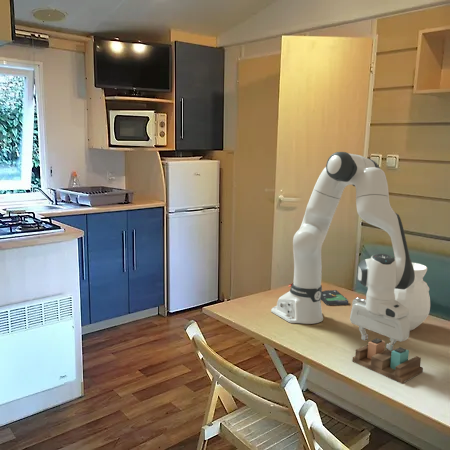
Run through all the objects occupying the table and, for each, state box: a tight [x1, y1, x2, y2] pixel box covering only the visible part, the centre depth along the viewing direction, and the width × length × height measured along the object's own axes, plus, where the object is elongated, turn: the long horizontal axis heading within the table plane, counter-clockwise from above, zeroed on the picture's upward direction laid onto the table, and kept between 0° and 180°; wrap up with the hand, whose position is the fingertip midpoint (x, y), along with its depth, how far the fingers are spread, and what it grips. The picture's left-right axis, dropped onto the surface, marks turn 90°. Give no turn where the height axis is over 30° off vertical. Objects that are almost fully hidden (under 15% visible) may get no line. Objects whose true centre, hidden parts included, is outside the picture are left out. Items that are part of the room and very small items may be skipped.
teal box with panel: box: [390, 346, 410, 369], centre depth 148 cm, size 3×5×6 cm, turn 128°
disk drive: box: [321, 289, 349, 306], centre depth 217 cm, size 10×3×15 cm
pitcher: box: [394, 262, 431, 331], centre depth 184 cm, size 19×18×25 cm
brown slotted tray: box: [351, 344, 424, 384], centre depth 152 cm, size 18×12×4 cm, turn 38°
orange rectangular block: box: [367, 337, 386, 359], centre depth 155 cm, size 3×5×6 cm, turn 129°
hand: (376, 344), depth 154 cm, fingers open, 8 cm apart
